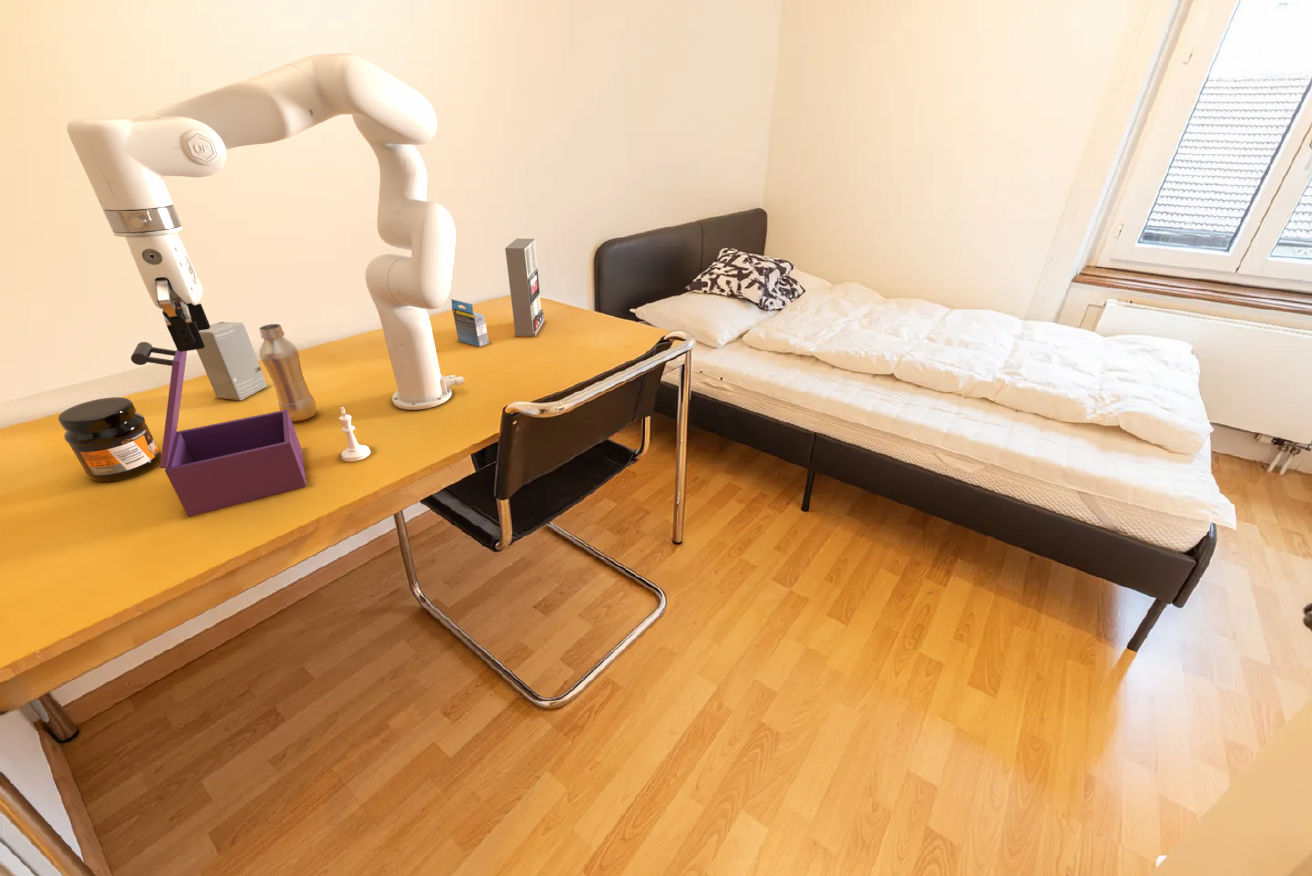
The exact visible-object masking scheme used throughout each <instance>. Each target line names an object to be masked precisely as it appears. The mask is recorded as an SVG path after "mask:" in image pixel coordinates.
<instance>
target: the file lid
mask: <svg viewBox="0 0 1312 876" xmlns="http://www.w3.org/2000/svg"><path fill="white" fill-rule="evenodd" d="M187 353H188V351H183V352H180V351H178V350H177V349H175V350H174V349H167V348H161V347H155V346H153V345H152V343H149V342H147V341H140V342H138V343H137V345H136V347H135V348H134V351H133V352H132V354H131V356H130V360H131V362H132V363H133V364H135V365H137V366H143V365H146V364H147V363H149V364H157V365H164V366H169V367H171V373H170V381H169V388H168V389H169V390H168V397H167V406H166V414H165V423H164V430H163V437H162V438H163V439H162V446H161V447H162V448H161V459H160V463H159V464H160V465H159V468H160V469H166V468H167V466H168V462H169V458H170V454H171V451H172V447H173V443H174V439H175V436H176V432H177V431H178V425H179V418H180V409H181V403H182V402H181V401H182V394H183V393H182V392H183V387H184V378H185V371H186V370H185V369H186V364H187V363H186V362H187V355H188V354H187ZM152 354H159V355H164V356H172V357H173V359H167V358H160V357H154V356H151V355H152Z"/></svg>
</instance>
